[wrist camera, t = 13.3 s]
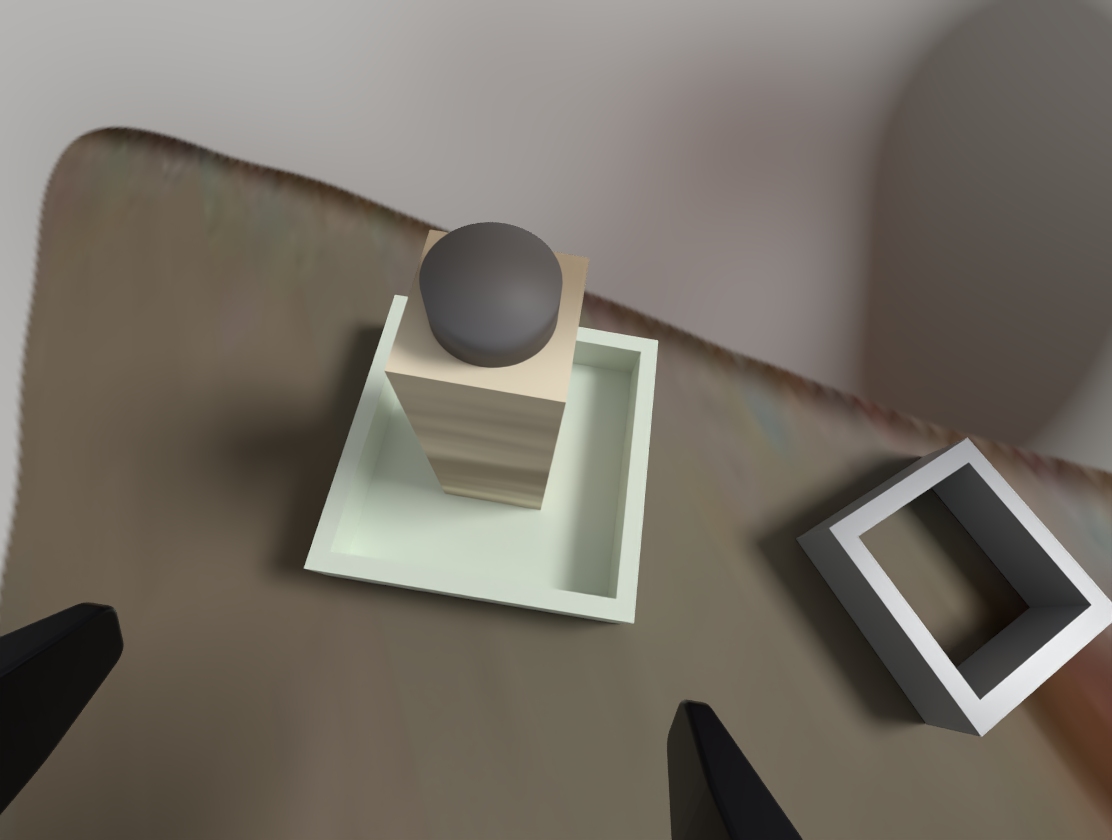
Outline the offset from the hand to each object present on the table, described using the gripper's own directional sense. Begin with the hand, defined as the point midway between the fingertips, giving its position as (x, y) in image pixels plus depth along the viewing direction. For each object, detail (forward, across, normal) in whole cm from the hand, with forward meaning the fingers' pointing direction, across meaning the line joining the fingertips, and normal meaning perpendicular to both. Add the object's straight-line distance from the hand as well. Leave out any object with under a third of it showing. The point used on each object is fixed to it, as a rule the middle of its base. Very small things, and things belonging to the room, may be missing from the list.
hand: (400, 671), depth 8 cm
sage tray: (+14, 0, +4) cm, 14 cm away
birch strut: (+14, 0, +3) cm, 14 cm away
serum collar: (+12, -19, +5) cm, 23 cm away
